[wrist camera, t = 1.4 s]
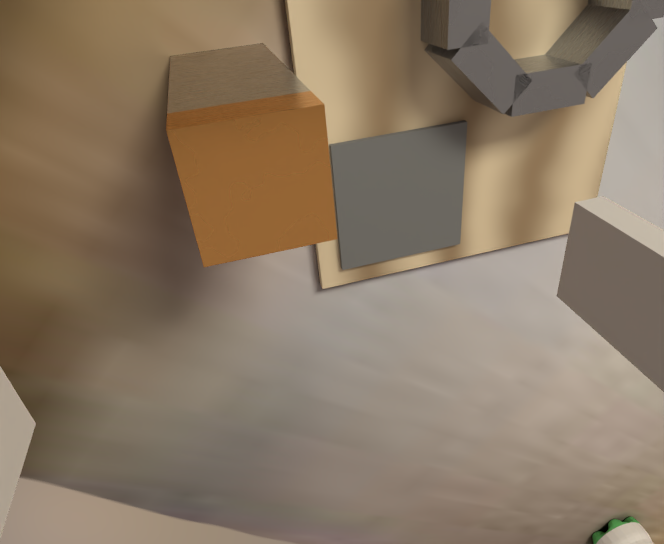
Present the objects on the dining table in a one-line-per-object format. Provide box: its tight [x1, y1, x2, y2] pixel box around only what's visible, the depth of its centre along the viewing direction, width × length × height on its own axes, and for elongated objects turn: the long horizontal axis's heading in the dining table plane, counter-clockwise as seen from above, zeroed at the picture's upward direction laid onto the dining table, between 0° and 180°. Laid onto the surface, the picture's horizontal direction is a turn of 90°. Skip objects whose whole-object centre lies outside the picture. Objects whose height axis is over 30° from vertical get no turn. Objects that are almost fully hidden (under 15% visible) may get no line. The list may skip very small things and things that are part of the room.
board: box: [285, 0, 627, 289], centre depth 31 cm, size 22×26×1 cm
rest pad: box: [329, 120, 467, 270], centre depth 34 cm, size 9×9×1 cm
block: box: [166, 43, 337, 267], centre depth 23 cm, size 5×5×14 cm
